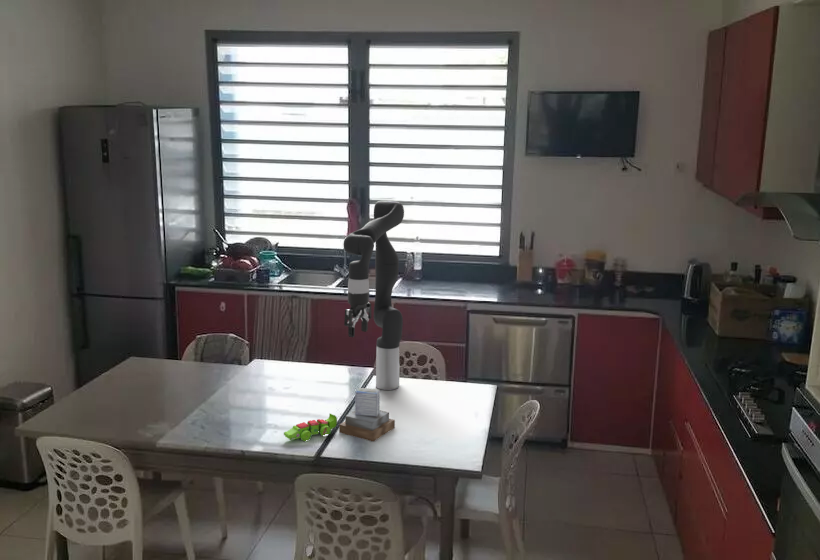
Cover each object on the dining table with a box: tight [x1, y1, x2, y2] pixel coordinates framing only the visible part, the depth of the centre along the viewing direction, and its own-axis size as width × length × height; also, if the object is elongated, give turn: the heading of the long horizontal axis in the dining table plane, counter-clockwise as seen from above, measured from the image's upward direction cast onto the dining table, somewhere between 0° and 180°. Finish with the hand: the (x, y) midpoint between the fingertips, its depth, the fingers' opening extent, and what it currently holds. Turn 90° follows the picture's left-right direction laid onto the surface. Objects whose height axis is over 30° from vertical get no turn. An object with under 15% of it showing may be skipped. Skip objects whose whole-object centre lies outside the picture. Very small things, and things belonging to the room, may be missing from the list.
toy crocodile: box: [283, 413, 338, 442], centre depth 262 cm, size 20×7×6 cm, turn 125°
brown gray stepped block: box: [338, 409, 396, 442], centre depth 268 cm, size 14×14×6 cm
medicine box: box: [354, 387, 381, 417], centre depth 267 cm, size 8×4×9 cm, turn 81°
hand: (358, 334), depth 279 cm, fingers open, 8 cm apart
